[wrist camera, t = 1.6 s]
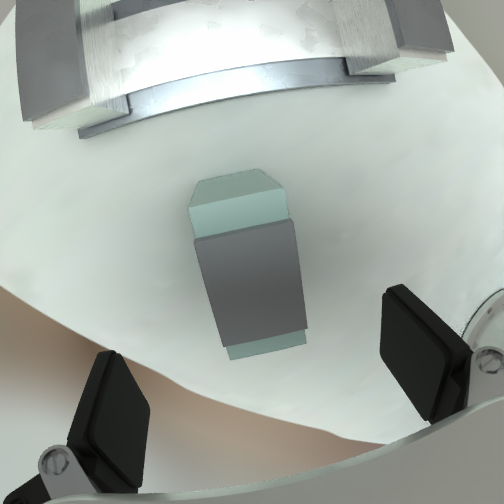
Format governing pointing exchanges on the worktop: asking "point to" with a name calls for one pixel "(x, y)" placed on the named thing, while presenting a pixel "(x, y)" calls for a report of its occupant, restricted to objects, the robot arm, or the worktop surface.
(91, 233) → the worktop surface
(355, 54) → the grey blocky piece
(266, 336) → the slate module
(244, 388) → the worktop surface
